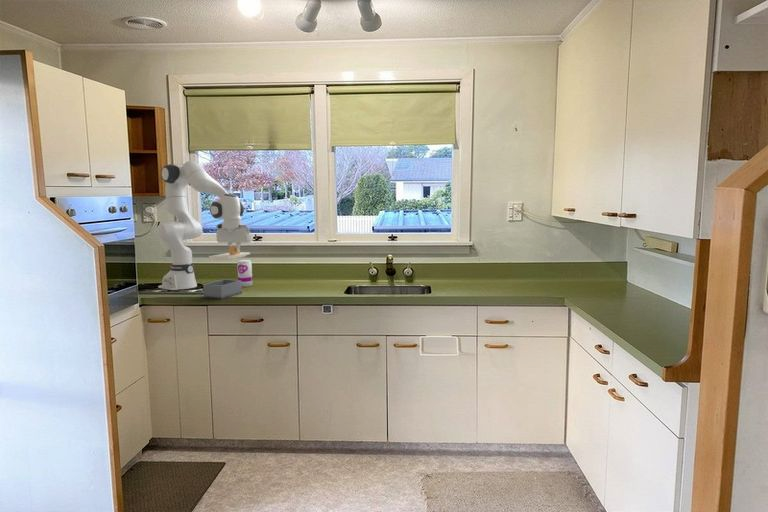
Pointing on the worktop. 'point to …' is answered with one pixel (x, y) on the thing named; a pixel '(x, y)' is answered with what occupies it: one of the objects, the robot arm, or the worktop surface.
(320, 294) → the worktop surface
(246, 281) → the supplement can
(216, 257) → the lid
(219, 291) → the tub
